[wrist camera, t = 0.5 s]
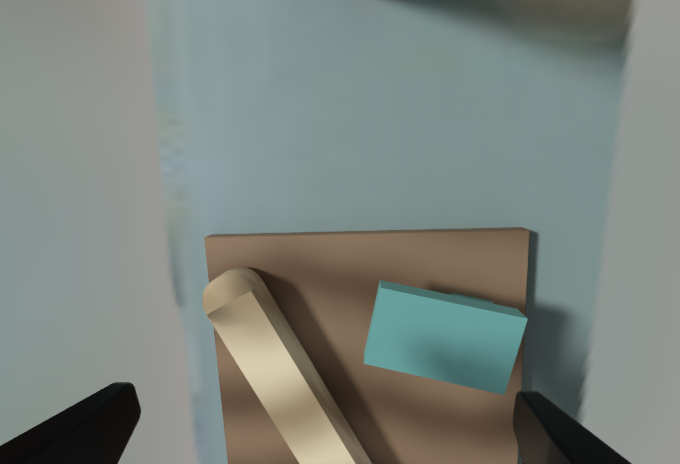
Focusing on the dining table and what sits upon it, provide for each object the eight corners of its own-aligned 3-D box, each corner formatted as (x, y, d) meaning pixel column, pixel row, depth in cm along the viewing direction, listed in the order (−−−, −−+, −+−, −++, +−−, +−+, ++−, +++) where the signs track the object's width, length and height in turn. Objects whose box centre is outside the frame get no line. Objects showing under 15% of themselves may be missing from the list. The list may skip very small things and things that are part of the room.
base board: (506, 546, 24) (512, 562, 23) (241, 531, 26) (236, 545, 25) (521, 227, 21) (529, 230, 20) (211, 234, 22) (204, 237, 22)
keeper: (425, 534, 24) (436, 612, 19) (325, 509, 24) (315, 581, 20) (495, 288, 20) (527, 318, 16) (378, 264, 21) (380, 287, 17)
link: (409, 511, 23) (417, 584, 19) (355, 532, 24) (352, 606, 20) (256, 254, 21) (228, 274, 17) (201, 284, 22) (162, 310, 17)
